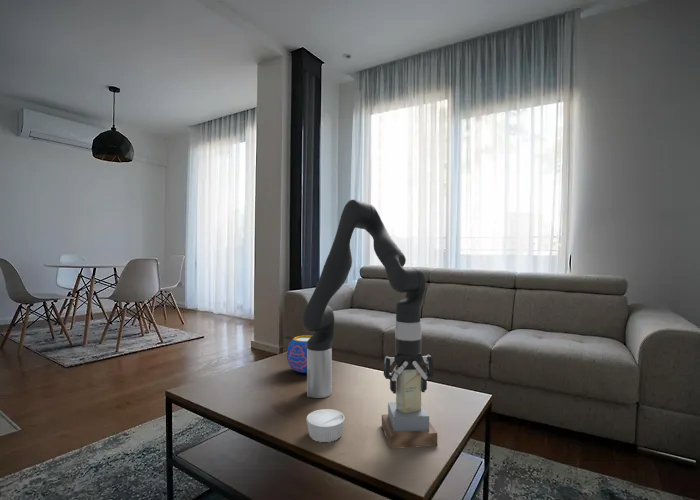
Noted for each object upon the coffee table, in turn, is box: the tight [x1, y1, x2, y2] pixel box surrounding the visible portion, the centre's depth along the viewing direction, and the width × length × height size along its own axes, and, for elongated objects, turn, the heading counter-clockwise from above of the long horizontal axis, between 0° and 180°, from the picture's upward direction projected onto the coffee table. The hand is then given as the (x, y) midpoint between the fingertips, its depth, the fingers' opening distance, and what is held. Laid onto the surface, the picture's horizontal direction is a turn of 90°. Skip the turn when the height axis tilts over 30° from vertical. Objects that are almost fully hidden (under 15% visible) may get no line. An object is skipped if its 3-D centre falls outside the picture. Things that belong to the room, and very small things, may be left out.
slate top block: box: [387, 401, 430, 432], centre depth 106 cm, size 10×10×4 cm
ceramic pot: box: [286, 334, 313, 374], centre depth 162 cm, size 18×18×15 cm
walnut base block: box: [381, 413, 438, 449], centre depth 106 cm, size 13×13×4 cm
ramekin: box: [306, 408, 346, 443], centre depth 106 cm, size 11×11×5 cm
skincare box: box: [395, 367, 422, 413], centre depth 106 cm, size 6×4×12 cm
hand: (408, 392), depth 106 cm, fingers open, 8 cm apart
